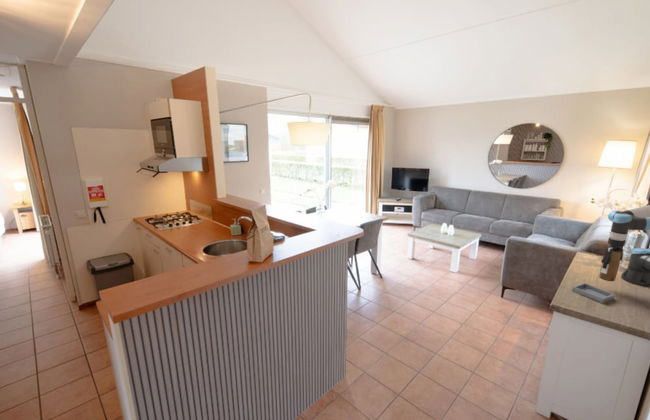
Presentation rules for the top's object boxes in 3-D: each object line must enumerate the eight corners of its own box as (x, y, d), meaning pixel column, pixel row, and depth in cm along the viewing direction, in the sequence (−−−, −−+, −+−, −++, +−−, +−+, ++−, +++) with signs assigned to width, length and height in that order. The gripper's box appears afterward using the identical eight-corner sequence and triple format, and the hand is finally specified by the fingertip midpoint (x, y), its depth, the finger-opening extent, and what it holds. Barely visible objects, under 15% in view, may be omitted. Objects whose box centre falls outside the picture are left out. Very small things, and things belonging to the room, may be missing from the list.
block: (613, 283, 182) (621, 253, 177) (597, 278, 187) (604, 249, 182) (616, 278, 188) (624, 249, 183) (601, 273, 194) (608, 245, 189)
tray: (583, 286, 192) (584, 282, 192) (613, 298, 179) (614, 294, 178) (571, 290, 188) (572, 286, 187) (602, 303, 174) (603, 299, 173)
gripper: (619, 234, 189) (611, 265, 194) (599, 239, 180) (591, 272, 185) (635, 237, 182) (626, 269, 188) (614, 243, 173) (606, 277, 179)
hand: (608, 271), depth 186 cm, fingers closed on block, 11 cm apart
